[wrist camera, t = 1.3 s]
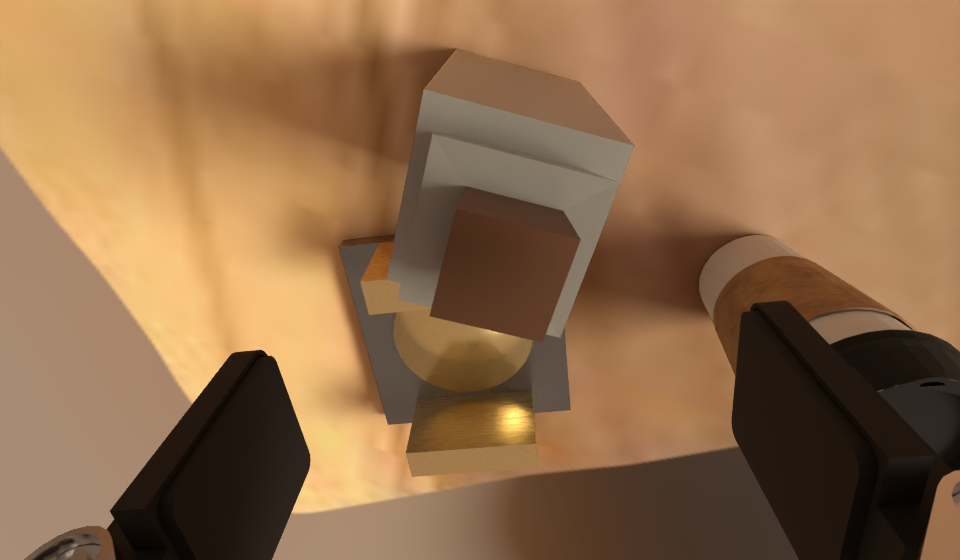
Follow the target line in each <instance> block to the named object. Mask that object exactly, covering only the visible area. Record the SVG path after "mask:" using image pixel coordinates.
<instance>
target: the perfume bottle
mask: <svg viewBox="0 0 960 560" xmlns="http://www.w3.org/2000/svg"><path fill="white" fill-rule="evenodd" d="M633 149H634V144H633V143H632V142H631V141H630V140H629V139H628V137H627V136H626V135H625V134H624V133H623V132H622V131H621V129H620V128H619V127H618V126H617V125H616V124H615V122H614V121H613V120H612V119H611V118H610V117H609V115H608V114H607V113H606V112H605V111H604V110H603V109H602V107H601V106H600V105H599V104H598V103H597V102H596V100H595V99H594V98H593V97H592V96H591V95H590V93H589V92H588V91H587V90H586V89H585V88H584V86H583V85H582V84H581V83H579V82H575V81H572V80H568V79H565V78H561V77H557V76H554V75H550V74H546V73H543V72H539V71H536V70H532V69H528V68H525V67H521V66H517V65H514V64H510V63H507V62H503V61H499V60H496V59H492V58H489V57H485V56H481V55H478V54H474V53H470V52H467V51H463V50H460V49H456V50H455V51H454V52H453V54H452V55H451V56H450V57H449V59H448V60H447V61H446V62H445V64H444V65H443V66H442V67H441V68H440V70H439V71H438V72H437V73H436V75H435V76H434V77H433V78H432V80H431V81H430V82H429V83H428V84H427V86H426V87H425V88H424V90H423V95H422V100H421V105H420V110H419V116H418V121H417V126H416V131H415V136H414V141H413V146H412V151H411V157H410V162H409V167H408V172H407V177H406V182H405V187H404V192H403V197H402V203H401V208H400V213H399V218H398V223H397V228H396V233H395V238H394V244H393V249H392V254H391V259H390V264H389V269H388V274H387V279H386V280H389V281H393V282H397V283H401V286H400V290H399V295H398V300H401V301H406V302H410V303H414V304H419V305H423V306H427V307H431V311H430V317H435V318H439V319H443V320H447V321H452V322H456V323H460V324H465V325H469V326H473V327H477V328H482V329H486V330H490V331H495V332H499V333H503V334H507V335H512V336H516V337H520V338H525V339H529V340H533V341H537V342H542V343H543V341H544V338H545V335H551V336H555V337H559V338H560V337H561V334H562V332H563V329H564V326H565V324H566V322H567V319H568V317H569V314H570V312H571V309H572V307H573V304H574V301H575V299H576V296H577V294H578V291H579V288H580V286H581V283H582V281H583V278H584V275H585V273H586V270H587V268H588V265H589V263H590V260H591V257H592V255H593V252H594V250H595V247H596V244H597V242H598V239H599V237H600V234H601V232H602V229H603V226H604V224H605V221H606V219H607V216H608V213H609V211H610V208H611V206H612V203H613V201H614V198H615V195H616V193H617V190H618V188H619V185H620V182H621V180H622V177H623V175H624V172H625V170H626V167H627V164H628V162H629V159H630V157H631V154H632V151H633Z"/></svg>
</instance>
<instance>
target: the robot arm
mask: <svg viewBox="0 0 960 560" xmlns="http://www.w3.org/2000/svg"><path fill="white" fill-rule="evenodd" d="M732 429H733V434H734V437H735V439H736V441H737V443H738V445H739V447H740V449H741V451H742V453H743V454H744V456H745V458H746V460H747V462H748V464H749V466H750V468H751V470H752V472H753V473H754V475H755V477H756V479H757V481H758V483H759V485H760V487H761V489H762V490H763V492H764V494H765V496H766V498H767V500H768V502H769V504H770V506H771V507H772V509H773V511H774V513H775V515H776V517H777V519H778V520H779V523H780V524H781V526H782V528H783V530H784V532H785V534H786V535H787V538H788V539H789V541H790V543H791V545H792V547H793V549H794V551H795V553H796V555H797V556H798V558H799V560H960V470H958V471H953V470H952V469H951V468H950V467H949V466H948V465H947V464H946V463H945V462H944V461H943V460H942V459H941V458H940V457H939V456H938V455H937V454H936V452H935V451H934V450H933V449H932V448H931V447H930V446H929V445H928V444H927V443H926V442H925V441H924V440H923V439H922V438H921V437H920V436H919V435H918V434H917V433H916V432H915V431H914V430H913V428H912V427H911V426H910V425H909V424H908V423H907V422H906V421H905V420H904V419H903V418H902V417H901V416H900V415H899V414H898V413H897V412H896V411H895V410H894V409H893V408H892V407H891V406H890V404H889V403H888V402H887V401H886V400H885V399H884V398H883V397H882V396H881V395H880V394H879V393H878V392H877V391H876V390H875V389H874V388H873V387H872V386H871V385H870V384H869V383H868V382H867V380H866V379H865V378H864V377H863V376H862V375H861V374H860V373H859V372H858V371H857V370H855V369H854V368H853V367H852V366H850V365H849V364H848V363H847V362H846V361H845V360H844V359H843V358H842V357H841V356H840V355H839V354H838V353H837V352H836V351H835V350H834V349H833V348H832V347H831V345H830V344H829V343H828V342H827V341H826V340H825V339H824V338H823V337H822V336H821V335H820V334H819V333H818V332H817V331H816V330H815V329H814V328H813V327H812V325H811V324H810V323H809V322H808V321H807V320H806V319H805V318H804V317H803V316H802V315H801V314H800V313H799V312H798V311H797V310H796V309H795V308H794V307H793V306H792V304H791V303H789V302H788V301H785V300H782V301H772V302H761V303H754V304H753V305H752V306H751V308H750V311H746V312H743V313H742V315H741V321H740V332H739V343H738V354H737V366H736V377H735V388H734V399H733V410H732ZM309 468H310V453H309V450H308V447H307V445H306V442H305V439H304V436H303V434H302V431H301V428H300V425H299V422H298V420H297V417H296V414H295V411H294V409H293V406H292V403H291V400H290V398H289V395H288V392H287V389H286V387H285V384H284V381H283V378H282V376H281V373H280V370H279V367H278V365H277V362H276V360H275V359H274V357H272V356H268V355H267V354H266V353H265V352H264V351H262V350H255V351H244V352H235V353H233V354H231V355H230V356H229V358H228V359H227V360H226V362H225V363H224V364H223V365H222V367H221V368H220V369H219V371H218V372H217V373H216V375H215V376H214V377H213V378H212V380H211V381H210V382H209V384H208V385H207V386H206V387H205V389H204V390H203V391H202V393H201V394H200V395H199V396H198V398H197V399H196V400H195V402H194V403H193V404H192V405H191V407H190V408H189V410H188V411H187V412H186V413H185V415H184V416H183V417H182V419H181V420H180V421H179V422H178V424H177V425H176V426H175V428H174V429H173V430H172V431H171V433H170V434H169V435H168V437H167V438H166V439H165V441H164V442H163V443H162V444H161V446H160V447H159V448H158V450H157V451H156V452H155V453H154V455H153V456H152V457H151V458H150V460H149V461H148V462H147V464H146V465H145V466H144V468H143V469H142V470H141V471H140V473H139V474H138V475H137V477H136V478H135V479H134V481H133V482H132V483H131V484H130V486H129V487H128V488H127V490H126V491H125V492H124V493H123V495H122V496H121V497H120V499H119V500H118V501H117V502H116V504H115V505H114V506H113V508H112V509H111V510H110V512H111V514H112V515H113V517H114V520H113V522H112V523H111V524H110V526H109V527H108V528H107V530H106V529H104V528H102V527H100V526H86V527H82V528H77V529H74V530H71V531H68V532H66V533H64V534H62V535H59V536H57V537H55V538H54V539H52V540H50V541H49V542H47V543H45V544H43V545H42V546H40V547H39V548H38V549H37V550H35V551H34V552H33V553H32V554H30V555H29V556H28V557H27V558H25V559H24V560H272V558H273V555H274V553H275V550H276V548H277V545H278V543H279V541H280V538H281V536H282V534H283V531H284V529H285V526H286V524H287V522H288V519H289V517H290V514H291V512H292V510H293V507H294V505H295V502H296V500H297V498H298V495H299V493H300V490H301V488H302V486H303V483H304V481H305V478H306V476H307V474H308V471H309Z"/></svg>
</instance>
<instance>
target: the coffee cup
mask: <svg viewBox="0 0 960 560" xmlns="http://www.w3.org/2000/svg"><path fill="white" fill-rule="evenodd" d="M699 292H700V296H701V299H702V301H703V303H704V305H705V307H706V309H707V311H708V313H709V316H710V318H711V320H712V322H713V324H714V326H715V330H716V332H717V334H718V337H719V339H720V341H721V344H722V346H723V348H724V351H725V353H726V355H727V357H728V360H729V362H730V364H731V367H732V369H733V371H734V374H735V376H736V366H737V354H738V343H739V332H740V321H741V315H742V313H743V312H746V311H750V308H751V306H752V305H753V304H754V303H761V302H772V301H782V300H785V301H788V302H789V303H791V304H792V306H793V307H794V308H795V309H796V310H797V311H798V312H799V313H800V314H801V315H802V316H803V317H804V318H805V319H806V320H807V321H808V322H809V323H810V324H811V325H812V327H813V328H814V329H815V330H816V331H817V332H818V333H819V334H820V335H821V336H822V337H823V338H824V339H825V340H826V341H827V342H828V343H829V344H830V345H831V347H832V348H833V349H834V350H835V351H836V352H837V353H838V354H839V355H840V356H841V357H842V358H843V359H844V360H845V361H846V362H847V363H848V364H849V365H850V366H852V367H853V368H854V369H855V370H857V371H858V372H859V373H860V374H861V375H862V376H863V377H864V378H865V379H866V380H867V382H868V383H869V384H870V385H871V386H872V387H873V388H874V389H875V390H876V391H877V392H878V393H879V394H880V395H881V396H882V397H883V398H884V399H885V400H886V401H887V402H888V403H889V404H890V406H891V407H892V408H893V409H894V410H895V411H896V412H897V413H898V414H899V415H900V416H901V417H902V418H903V419H904V420H905V421H906V422H907V423H908V424H909V425H910V426H911V427H912V428H913V430H914V431H915V432H916V433H917V434H918V435H919V436H920V437H921V438H922V439H923V440H924V441H925V442H926V443H927V444H928V445H929V446H930V447H931V448H932V449H933V450H934V451H935V452H936V454H937V455H938V456H939V457H940V458H941V459H942V460H943V461H944V462H945V463H946V464H947V465H948V466H949V467H950V468H951V469H952V470H953V471H958V470H960V352H959V351H958V350H957V349H956V348H954V347H953V346H952V345H951V344H949V343H948V342H946V341H944V340H942V339H940V338H937V337H935V336H933V335H931V334H926V333H922V332H917V331H916V329H915V328H914V327H913V326H912V325H911V324H910V323H908V322H907V321H906V320H905V319H903V318H902V317H900V316H899V315H897V314H896V313H894V312H892V311H891V310H889V309H888V308H886V307H885V306H883V305H881V304H880V303H878V302H877V301H875V300H873V299H872V298H870V297H869V296H867V295H866V294H864V293H862V292H861V291H859V290H858V289H856V288H854V287H853V286H851V285H850V284H848V283H847V282H845V281H843V280H842V279H840V278H839V277H837V276H835V275H834V274H832V273H831V272H829V271H828V270H826V269H824V268H823V267H821V266H820V265H818V264H816V263H814V262H812V261H811V260H809V259H808V258H806V257H805V256H803V255H802V254H800V253H799V252H797V251H796V250H795V249H793V248H792V247H790V246H789V245H787V244H786V243H784V242H783V241H780V240H778V239H776V238H774V237H770V236H765V235H751V236H744V237H741V238H738V239H735V240H733V241H731V242H729V243H727V244H725V245H724V246H722V247H721V248H719V249H718V250H717V251H716V252H715V253H714V254H713V255H712V256H711V257H710V258H709V259H708V261H707V262H706V264H705V265H704V267H703V270H702V272H701V275H700V279H699Z"/></svg>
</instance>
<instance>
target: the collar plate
mask: <svg viewBox="0 0 960 560" xmlns="http://www.w3.org/2000/svg"><path fill="white" fill-rule="evenodd" d="M394 238H395V235H389V236H380V237H371V238H363V239H354V240H345V241H343V242H342V243H341V245H340V246H339V250H340V253H341V257H342V260H343V264H344V268H345V271H346V275H347V278H348V282H349V286H350V289H351V293H352V296H353V300H354V304H355V307H356V311H357V314H358V318H359V322H360V325H361V329H362V332H363V336H364V340H365V343H366V347H367V350H368V354H369V358H370V361H371V365H372V368H373V372H374V376H375V379H376V383H377V387H378V390H379V394H380V397H381V401H382V405H383V408H384V412H385V415H386V419H387V423H388V425H390V424H402V423H412V427H411V431H410V436H409V441H408V446H407V450H406V456H407V459H408V463H409V467H410V471H411V474H412V477H415V476H429V475H443V474H458V473H472V472H486V471H500V470H514V469H528V468H539V463H538V451H537V438H536V425H535V413H539V412H552V411H564V410H571V409H570V396H569V383H568V370H567V357H566V344H565V331H564V329H563V332H562V334H561V337H560V338H559V337H555V336H551V335H545V338H544V341H543V343H542V342H537V341H533V340H529V339H525V338H520V337H516V336H512V335H507V334H503V333H499V332H495V331H490V330H486V329H482V328H477V327H473V326H469V325H465V324H460V323H456V322H452V321H447V320H443V319H439V318H435V317H430V311H431V307H427V306H423V305H419V304H414V303H410V302H406V301H401V300H398V295H399V290H400V286H401V283H397V282H393V281H389V280H386V279H387V274H388V269H389V264H390V259H391V254H392V249H393V244H394Z"/></svg>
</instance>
